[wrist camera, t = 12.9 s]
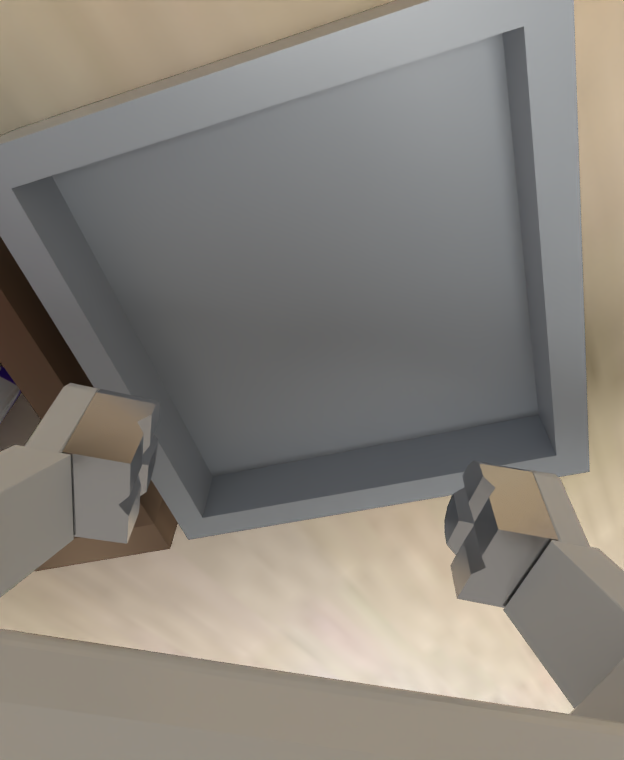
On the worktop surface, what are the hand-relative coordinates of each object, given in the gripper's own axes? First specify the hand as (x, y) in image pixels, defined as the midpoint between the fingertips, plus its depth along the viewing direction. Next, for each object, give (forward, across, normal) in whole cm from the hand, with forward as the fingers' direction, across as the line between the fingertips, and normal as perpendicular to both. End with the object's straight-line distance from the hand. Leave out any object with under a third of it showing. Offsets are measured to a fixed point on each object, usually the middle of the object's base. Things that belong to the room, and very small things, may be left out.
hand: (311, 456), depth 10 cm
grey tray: (+6, 0, 0) cm, 6 cm away
